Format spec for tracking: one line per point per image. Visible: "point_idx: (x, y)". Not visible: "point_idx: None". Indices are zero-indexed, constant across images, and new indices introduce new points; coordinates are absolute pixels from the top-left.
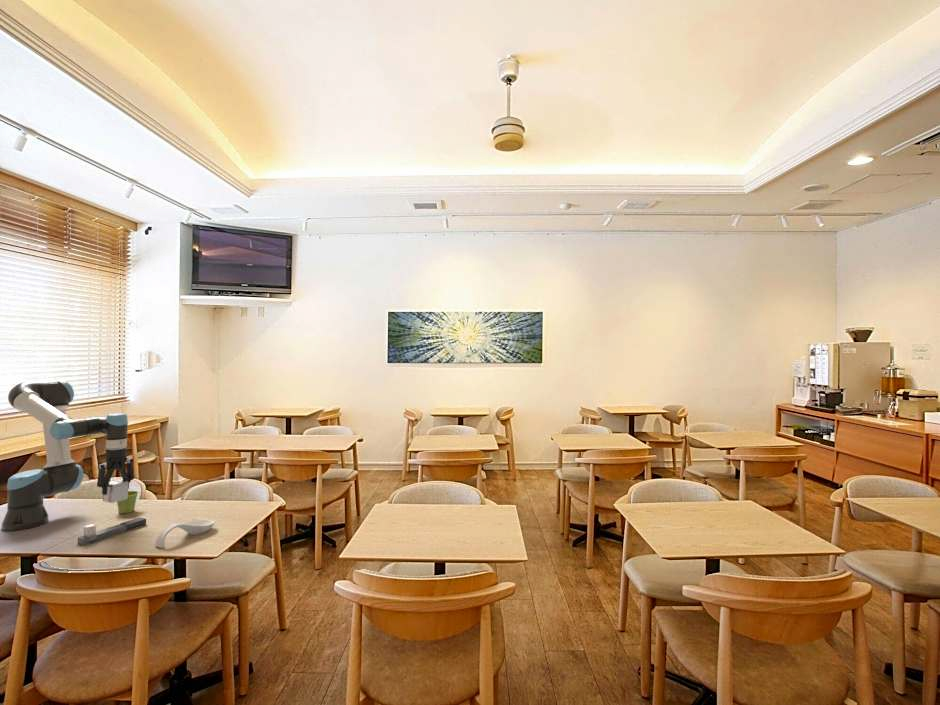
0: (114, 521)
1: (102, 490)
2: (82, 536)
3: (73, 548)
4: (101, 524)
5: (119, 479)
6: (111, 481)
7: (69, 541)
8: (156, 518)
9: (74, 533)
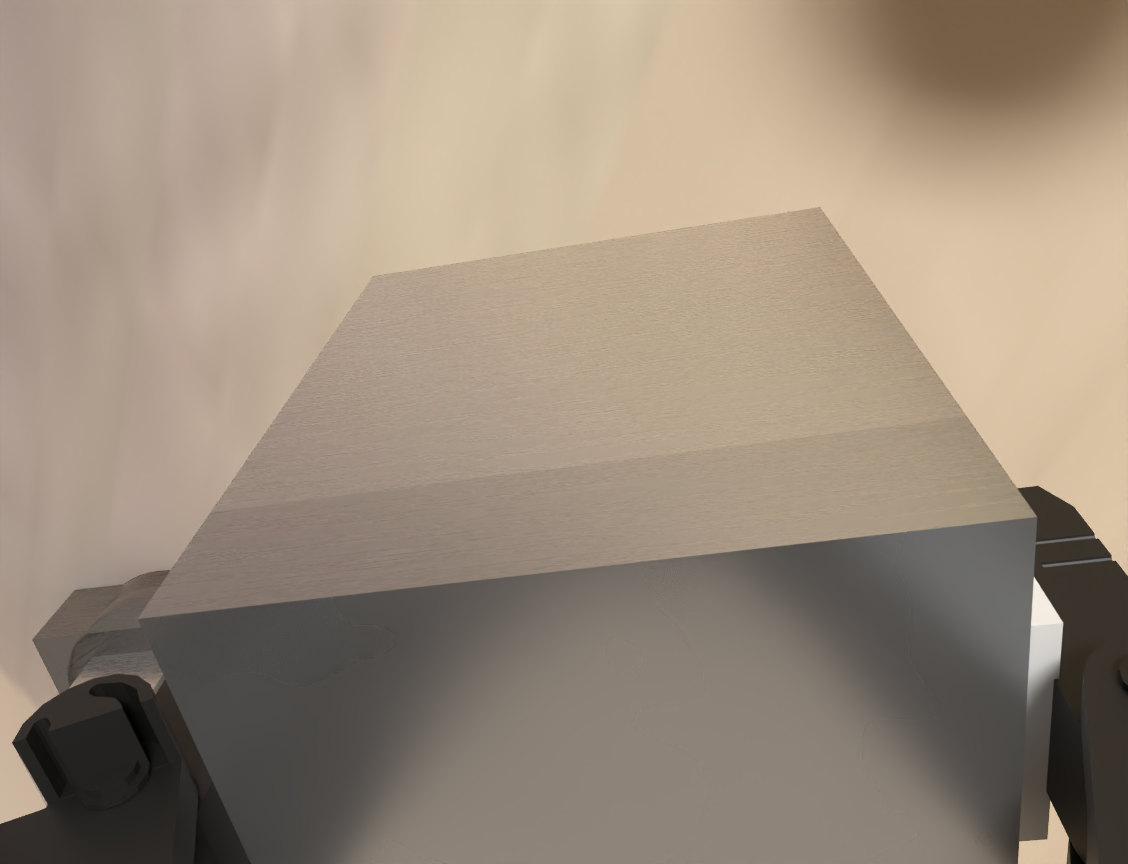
0: (693, 44)
1: (168, 706)
2: (81, 650)
3: (25, 688)
4: (495, 15)
5: (1031, 568)
6: (544, 642)
7: (5, 429)
8: (1087, 502)
9: (87, 125)
